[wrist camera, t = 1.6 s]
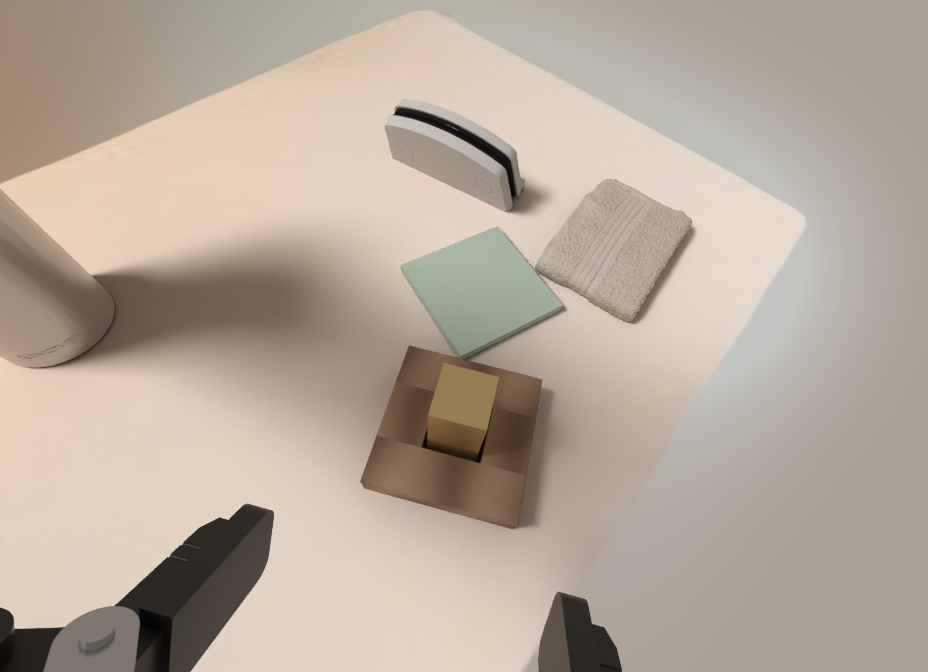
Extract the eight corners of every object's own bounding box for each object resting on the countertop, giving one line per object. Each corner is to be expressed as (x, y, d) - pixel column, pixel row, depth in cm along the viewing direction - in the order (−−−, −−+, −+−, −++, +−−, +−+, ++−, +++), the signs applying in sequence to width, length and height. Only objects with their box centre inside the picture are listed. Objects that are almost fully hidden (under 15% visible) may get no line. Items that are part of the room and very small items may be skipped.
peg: (427, 452, 37) (427, 415, 29) (439, 409, 39) (443, 362, 31) (473, 465, 36) (486, 430, 29) (484, 420, 38) (498, 376, 31)
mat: (401, 271, 46) (400, 265, 45) (496, 232, 50) (497, 226, 49) (460, 361, 41) (461, 356, 40) (560, 310, 45) (563, 305, 44)
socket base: (364, 488, 35) (360, 481, 33) (409, 358, 41) (409, 345, 39) (512, 528, 34) (517, 524, 32) (535, 391, 40) (542, 379, 38)
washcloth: (686, 230, 53) (700, 211, 51) (629, 331, 45) (642, 315, 42) (599, 186, 56) (607, 166, 53) (530, 275, 48) (536, 256, 45)
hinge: (527, 189, 54) (531, 133, 44) (508, 220, 53) (508, 171, 43) (413, 136, 57) (394, 74, 48) (394, 165, 57) (370, 108, 47)
